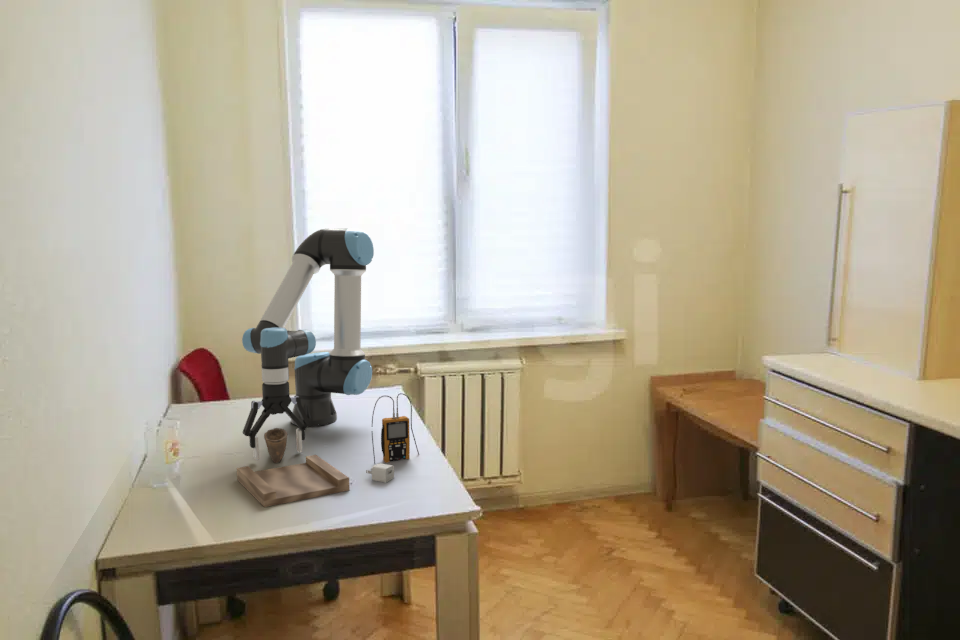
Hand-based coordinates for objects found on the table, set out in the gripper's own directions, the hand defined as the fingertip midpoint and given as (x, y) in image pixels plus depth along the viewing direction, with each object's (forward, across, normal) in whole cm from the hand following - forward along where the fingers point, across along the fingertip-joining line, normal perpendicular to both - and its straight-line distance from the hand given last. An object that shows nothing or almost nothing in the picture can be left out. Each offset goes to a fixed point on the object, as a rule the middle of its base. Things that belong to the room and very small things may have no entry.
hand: (278, 454), depth 222 cm
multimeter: (+2, -27, +25) cm, 37 cm away
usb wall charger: (+2, -17, +32) cm, 36 cm away
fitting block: (+1, +4, +24) cm, 24 cm away
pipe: (+2, 0, -1) cm, 2 cm away
